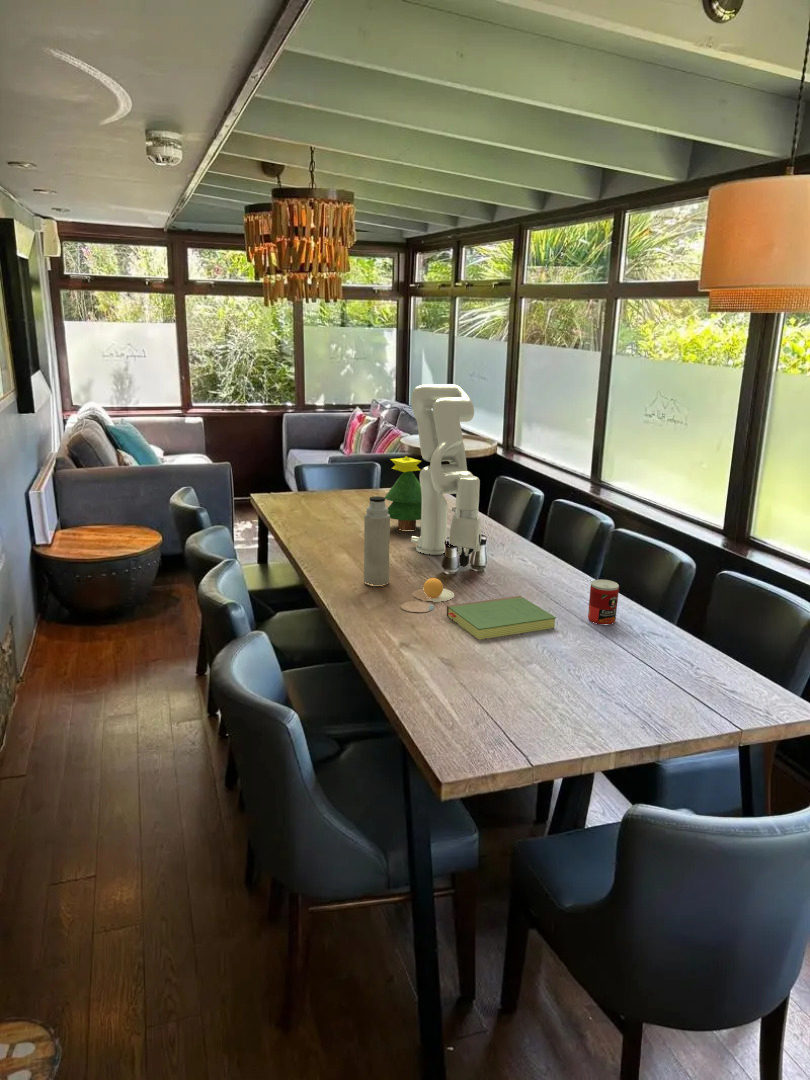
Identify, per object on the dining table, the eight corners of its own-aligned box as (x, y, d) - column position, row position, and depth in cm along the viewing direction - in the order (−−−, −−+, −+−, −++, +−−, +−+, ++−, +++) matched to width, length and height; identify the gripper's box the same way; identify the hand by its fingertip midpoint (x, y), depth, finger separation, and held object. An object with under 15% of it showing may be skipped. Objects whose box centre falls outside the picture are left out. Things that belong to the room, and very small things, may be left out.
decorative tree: (440, 531, 311) (442, 457, 303) (400, 538, 301) (402, 461, 293) (412, 521, 326) (414, 450, 318) (373, 527, 316) (374, 453, 308)
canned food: (600, 627, 216) (604, 589, 213) (581, 617, 222) (584, 581, 220) (621, 623, 219) (625, 586, 216) (602, 613, 226) (605, 577, 223)
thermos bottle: (376, 577, 253) (377, 493, 246) (393, 583, 248) (395, 497, 241) (358, 582, 248) (359, 497, 240) (376, 588, 243) (377, 501, 235)
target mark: (404, 597, 235) (404, 596, 235) (423, 585, 247) (423, 584, 247) (443, 604, 230) (443, 604, 230) (460, 592, 241) (461, 591, 241)
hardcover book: (519, 607, 231) (520, 595, 230) (555, 630, 215) (556, 617, 214) (444, 618, 221) (444, 605, 220) (475, 642, 205) (476, 629, 204)
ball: (422, 575, 234) (428, 579, 240) (419, 594, 233) (425, 598, 239) (441, 577, 232) (446, 581, 238) (438, 596, 231) (444, 600, 236)
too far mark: (394, 609, 226) (394, 608, 226) (409, 598, 234) (409, 598, 234) (425, 615, 221) (425, 614, 221) (439, 604, 230) (439, 604, 230)
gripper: (441, 512, 257) (439, 564, 262) (483, 518, 250) (480, 572, 255) (450, 507, 263) (448, 559, 268) (491, 513, 257) (488, 566, 262)
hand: (463, 565), depth 262 cm, fingers closed
